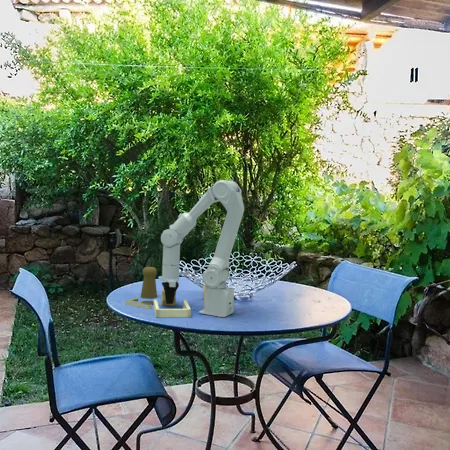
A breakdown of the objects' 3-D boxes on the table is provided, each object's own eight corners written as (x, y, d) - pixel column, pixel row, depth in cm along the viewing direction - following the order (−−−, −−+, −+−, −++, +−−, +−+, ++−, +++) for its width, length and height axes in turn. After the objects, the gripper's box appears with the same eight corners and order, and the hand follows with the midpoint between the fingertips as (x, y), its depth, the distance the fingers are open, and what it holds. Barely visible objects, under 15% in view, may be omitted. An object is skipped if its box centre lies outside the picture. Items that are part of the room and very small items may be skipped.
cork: (158, 295, 187) (159, 266, 186) (155, 299, 181) (156, 269, 180) (143, 294, 188) (143, 265, 187) (138, 298, 182) (139, 268, 181)
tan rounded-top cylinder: (218, 298, 186) (219, 285, 186) (212, 301, 182) (213, 288, 181) (206, 296, 188) (207, 283, 188) (200, 299, 184) (200, 286, 183)
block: (175, 305, 173) (175, 292, 173) (162, 305, 172) (162, 292, 172) (174, 302, 178) (174, 289, 177) (161, 302, 177) (161, 289, 176)
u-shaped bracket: (190, 317, 159) (190, 309, 159) (156, 317, 157) (156, 309, 157) (185, 306, 172) (185, 299, 172) (153, 307, 170) (153, 299, 170)
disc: (160, 302, 176) (160, 302, 176) (150, 306, 170) (150, 305, 170) (145, 300, 178) (145, 299, 178) (136, 303, 173) (136, 303, 173)
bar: (158, 306, 172) (158, 301, 172) (149, 309, 167) (149, 305, 167) (134, 301, 176) (134, 297, 176) (125, 304, 171) (125, 300, 171)
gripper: (157, 260, 176) (156, 298, 177) (160, 268, 162) (159, 309, 163) (177, 260, 178) (176, 298, 179) (182, 268, 164) (180, 308, 165)
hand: (169, 303), depth 171 cm, fingers closed
